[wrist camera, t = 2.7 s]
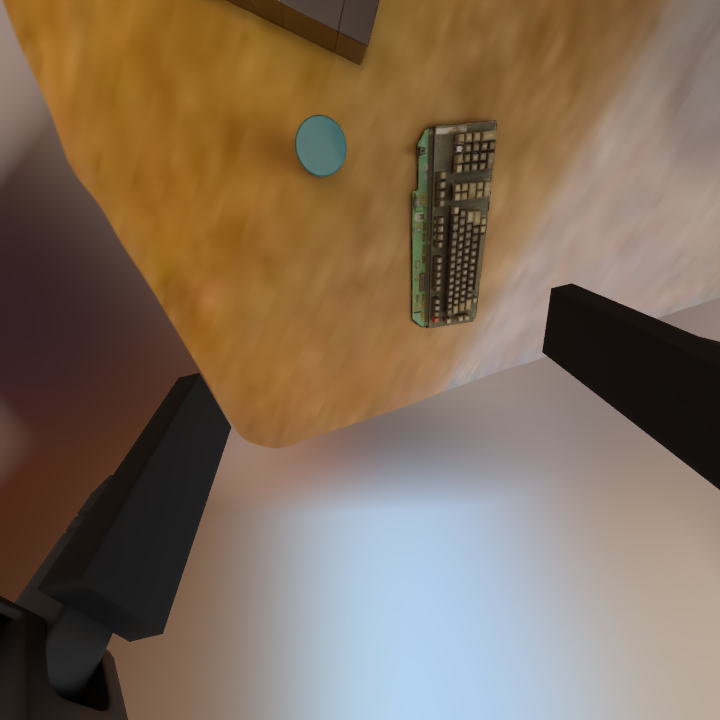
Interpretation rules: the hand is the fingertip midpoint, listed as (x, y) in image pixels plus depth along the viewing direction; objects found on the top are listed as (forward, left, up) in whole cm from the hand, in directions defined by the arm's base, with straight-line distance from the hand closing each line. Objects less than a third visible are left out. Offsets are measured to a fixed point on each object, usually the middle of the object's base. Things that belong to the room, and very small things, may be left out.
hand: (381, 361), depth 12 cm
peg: (+4, -7, -27) cm, 28 cm away
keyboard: (-13, -4, -27) cm, 30 cm away
